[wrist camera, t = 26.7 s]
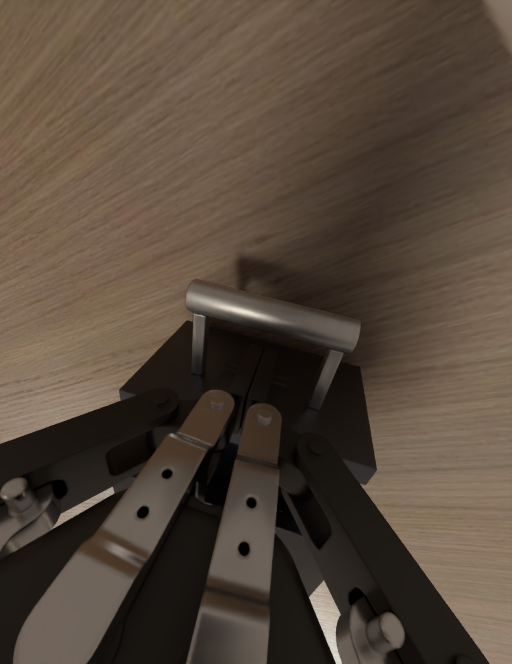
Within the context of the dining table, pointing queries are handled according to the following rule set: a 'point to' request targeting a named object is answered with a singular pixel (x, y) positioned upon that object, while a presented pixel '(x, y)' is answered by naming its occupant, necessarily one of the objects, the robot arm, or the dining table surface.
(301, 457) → the robot arm
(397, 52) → the dining table surface
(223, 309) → the drawer
